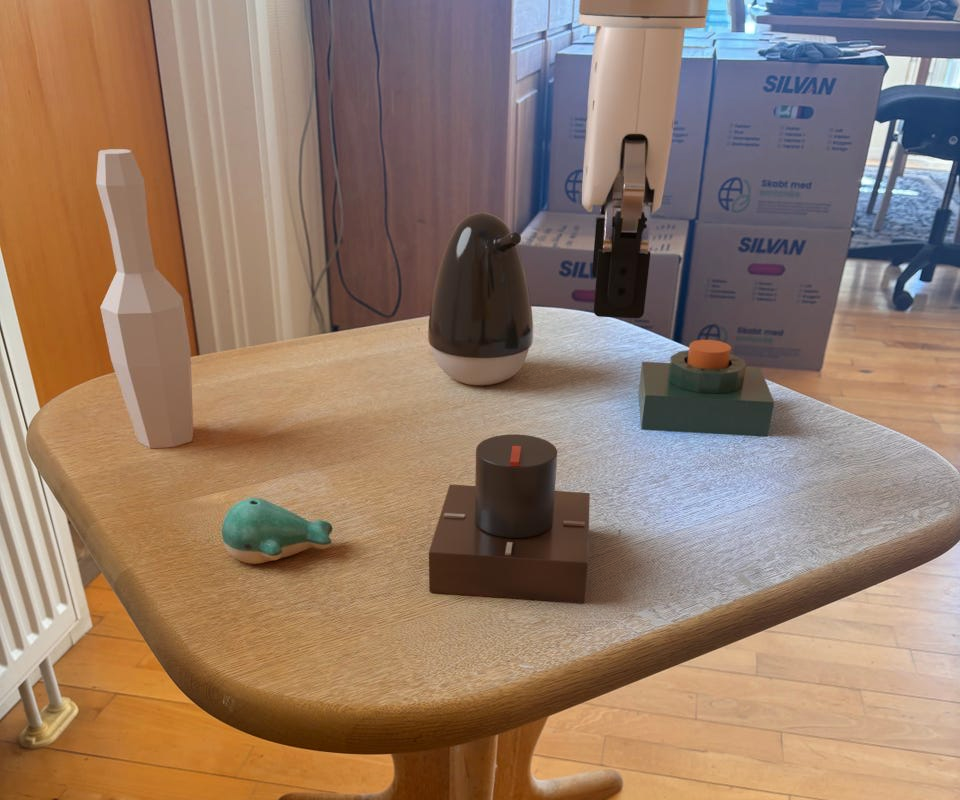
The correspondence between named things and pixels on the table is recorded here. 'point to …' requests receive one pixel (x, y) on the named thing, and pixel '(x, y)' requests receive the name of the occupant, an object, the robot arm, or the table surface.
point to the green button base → (704, 398)
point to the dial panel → (511, 553)
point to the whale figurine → (270, 532)
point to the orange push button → (709, 354)
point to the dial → (515, 485)
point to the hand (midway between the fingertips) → (615, 295)
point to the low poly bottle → (143, 313)
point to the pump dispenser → (481, 304)
